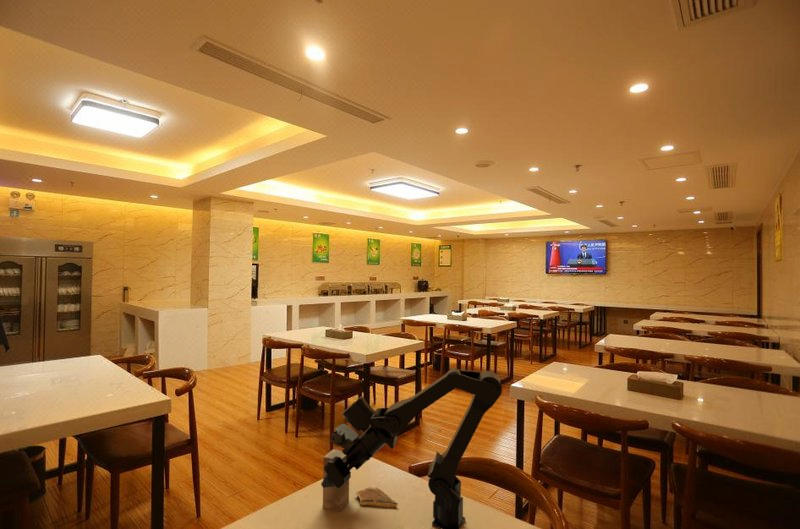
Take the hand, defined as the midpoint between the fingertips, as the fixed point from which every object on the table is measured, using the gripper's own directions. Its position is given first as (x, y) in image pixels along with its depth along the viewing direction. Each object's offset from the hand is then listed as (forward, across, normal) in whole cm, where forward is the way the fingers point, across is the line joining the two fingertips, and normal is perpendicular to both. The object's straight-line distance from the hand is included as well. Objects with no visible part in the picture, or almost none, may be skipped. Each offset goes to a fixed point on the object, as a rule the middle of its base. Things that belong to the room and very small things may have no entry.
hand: (331, 477), depth 105 cm
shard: (-2, -7, +13) cm, 15 cm away
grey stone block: (+4, 0, +6) cm, 7 cm away
